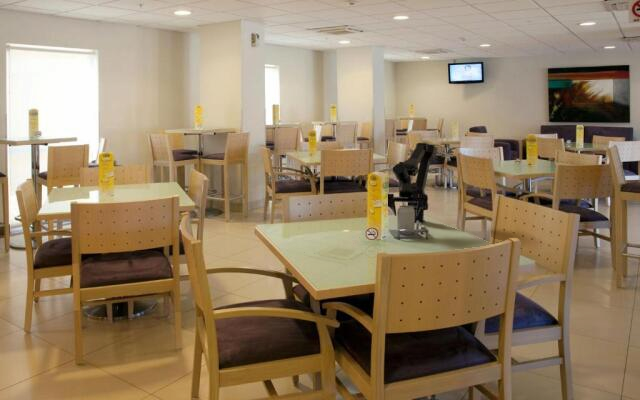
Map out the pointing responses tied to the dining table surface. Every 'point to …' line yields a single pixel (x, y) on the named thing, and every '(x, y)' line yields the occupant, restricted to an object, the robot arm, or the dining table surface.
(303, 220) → the dining table surface
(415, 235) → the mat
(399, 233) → the rail
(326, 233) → the dining table surface
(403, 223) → the can
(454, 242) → the dining table surface
